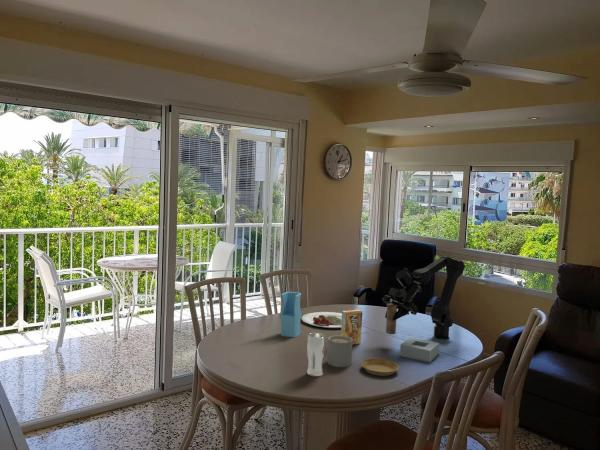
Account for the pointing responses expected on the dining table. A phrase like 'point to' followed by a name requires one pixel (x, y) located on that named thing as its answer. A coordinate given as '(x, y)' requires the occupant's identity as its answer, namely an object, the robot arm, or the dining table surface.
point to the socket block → (419, 349)
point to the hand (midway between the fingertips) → (389, 318)
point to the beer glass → (315, 353)
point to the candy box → (352, 325)
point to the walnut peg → (389, 322)
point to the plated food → (323, 319)
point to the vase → (291, 314)
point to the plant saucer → (379, 367)
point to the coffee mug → (339, 351)
